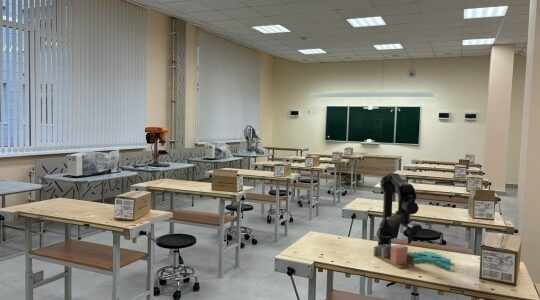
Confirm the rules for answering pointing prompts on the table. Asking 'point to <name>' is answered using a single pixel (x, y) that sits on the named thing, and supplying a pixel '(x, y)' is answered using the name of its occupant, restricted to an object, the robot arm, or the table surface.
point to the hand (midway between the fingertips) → (402, 241)
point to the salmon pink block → (399, 254)
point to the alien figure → (431, 259)
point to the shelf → (385, 254)
